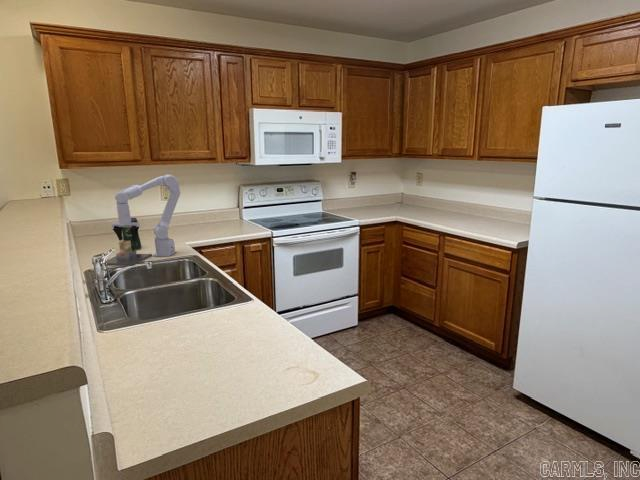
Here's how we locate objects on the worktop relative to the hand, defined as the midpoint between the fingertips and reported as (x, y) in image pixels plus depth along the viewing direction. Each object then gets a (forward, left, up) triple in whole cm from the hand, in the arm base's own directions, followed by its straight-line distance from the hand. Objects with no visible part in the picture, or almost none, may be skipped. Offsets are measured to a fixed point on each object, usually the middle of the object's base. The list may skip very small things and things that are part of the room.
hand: (127, 240), depth 216 cm
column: (0, +3, -6) cm, 7 cm away
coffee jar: (+11, -21, -11) cm, 26 cm away
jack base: (0, +3, -10) cm, 11 cm away
